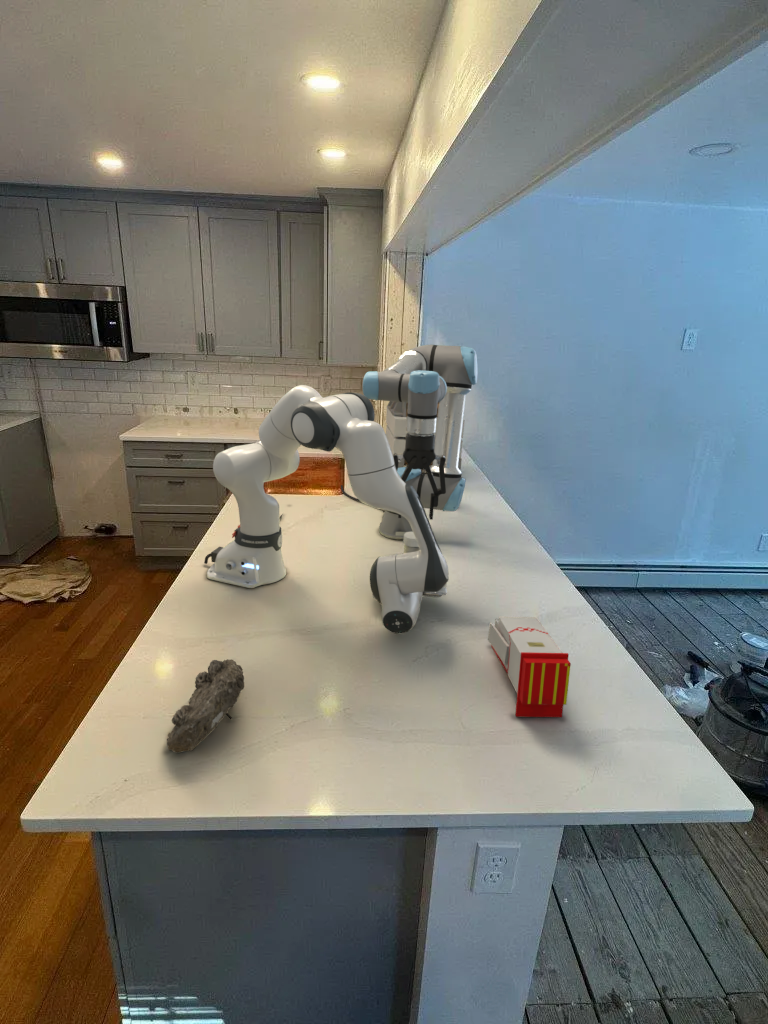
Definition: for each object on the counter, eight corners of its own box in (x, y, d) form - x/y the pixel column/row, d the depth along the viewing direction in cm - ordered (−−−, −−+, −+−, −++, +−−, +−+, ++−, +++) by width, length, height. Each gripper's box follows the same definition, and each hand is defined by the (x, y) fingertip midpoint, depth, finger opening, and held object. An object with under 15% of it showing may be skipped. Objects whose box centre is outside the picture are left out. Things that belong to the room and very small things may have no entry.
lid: (421, 539, 158) (421, 531, 157) (425, 547, 153) (426, 539, 152) (401, 539, 157) (402, 531, 156) (405, 547, 152) (405, 539, 151)
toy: (534, 602, 136) (579, 659, 107) (529, 653, 139) (572, 723, 110) (484, 601, 136) (516, 658, 107) (480, 652, 139) (510, 722, 109)
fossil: (192, 660, 117) (244, 628, 112) (224, 691, 120) (276, 661, 115) (142, 746, 98) (202, 712, 93) (182, 779, 101) (242, 748, 96)
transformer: (382, 463, 289) (386, 382, 275) (445, 464, 293) (451, 384, 279) (390, 482, 257) (394, 392, 243) (460, 483, 261) (468, 394, 247)
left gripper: (447, 585, 143) (450, 562, 156) (367, 576, 146) (376, 554, 159) (445, 607, 145) (448, 583, 158) (366, 598, 148) (376, 575, 161)
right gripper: (459, 432, 148) (452, 514, 156) (380, 428, 148) (377, 510, 156) (462, 438, 141) (454, 523, 149) (380, 434, 141) (376, 520, 149)
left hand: (411, 568), depth 158 cm, fingers open, 8 cm apart
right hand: (415, 516), depth 152 cm, fingers open, 8 cm apart
